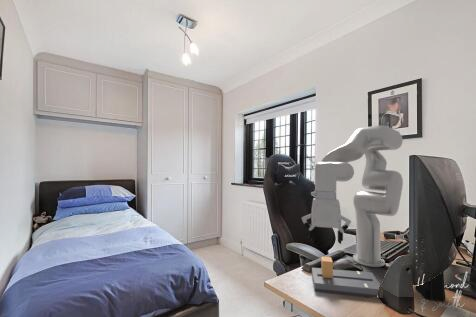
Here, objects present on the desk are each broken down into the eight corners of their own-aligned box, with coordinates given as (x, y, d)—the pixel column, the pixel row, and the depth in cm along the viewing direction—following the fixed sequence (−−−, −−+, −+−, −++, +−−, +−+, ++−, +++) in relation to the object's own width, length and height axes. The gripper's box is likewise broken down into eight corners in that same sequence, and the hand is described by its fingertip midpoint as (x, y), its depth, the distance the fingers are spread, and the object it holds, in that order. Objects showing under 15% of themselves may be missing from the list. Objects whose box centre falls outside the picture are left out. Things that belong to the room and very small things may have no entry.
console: (311, 274, 95) (311, 267, 95) (371, 280, 90) (371, 272, 90) (314, 291, 83) (314, 282, 83) (383, 298, 78) (383, 289, 78)
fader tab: (321, 277, 90) (321, 256, 90) (331, 278, 89) (330, 257, 89) (322, 282, 86) (322, 261, 86) (333, 283, 85) (332, 261, 85)
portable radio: (449, 303, 75) (447, 225, 75) (427, 301, 76) (426, 224, 76) (433, 290, 83) (432, 219, 83) (414, 288, 84) (413, 218, 84)
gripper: (302, 196, 86) (302, 243, 86) (353, 197, 82) (353, 247, 82) (301, 193, 93) (301, 236, 93) (348, 195, 89) (348, 240, 89)
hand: (325, 241), depth 87 cm, fingers open, 9 cm apart
